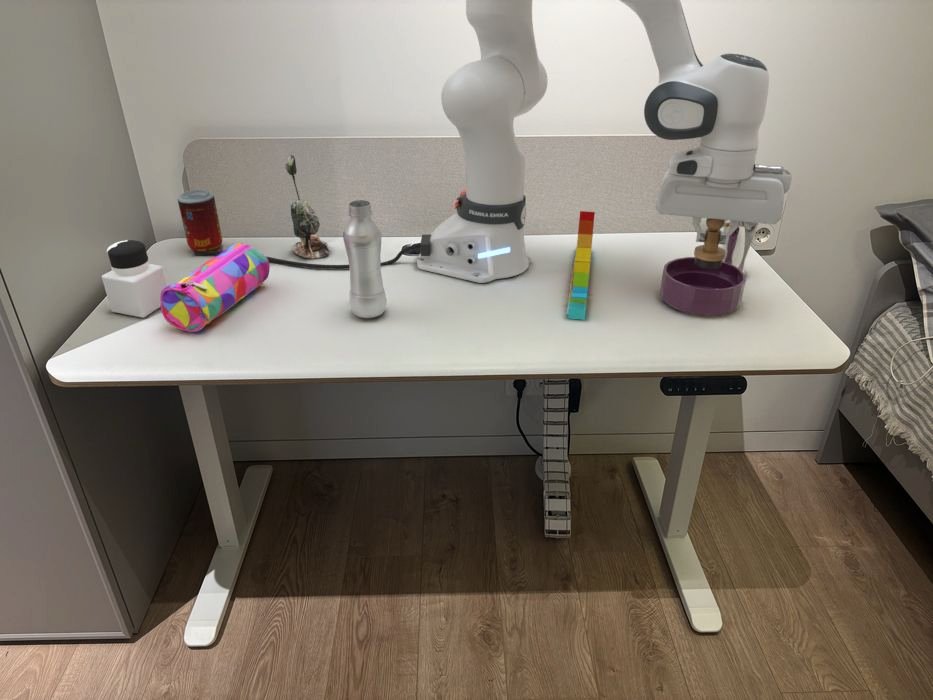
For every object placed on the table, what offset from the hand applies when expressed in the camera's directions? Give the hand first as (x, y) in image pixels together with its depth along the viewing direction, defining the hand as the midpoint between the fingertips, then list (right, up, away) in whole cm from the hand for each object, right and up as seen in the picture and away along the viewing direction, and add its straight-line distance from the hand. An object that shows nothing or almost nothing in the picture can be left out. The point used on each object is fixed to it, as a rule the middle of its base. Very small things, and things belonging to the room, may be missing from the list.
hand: (711, 242), depth 120 cm
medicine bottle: (-101, -11, +4) cm, 101 cm away
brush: (0, -4, +2) cm, 4 cm away
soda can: (-98, +2, +27) cm, 101 cm away
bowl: (0, -10, +6) cm, 11 cm away
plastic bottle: (-60, -13, +2) cm, 61 cm away
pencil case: (-86, -11, +4) cm, 87 cm away
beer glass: (+9, -4, +16) cm, 19 cm away
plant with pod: (-75, +1, +25) cm, 79 cm away
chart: (-21, -6, +13) cm, 25 cm away
